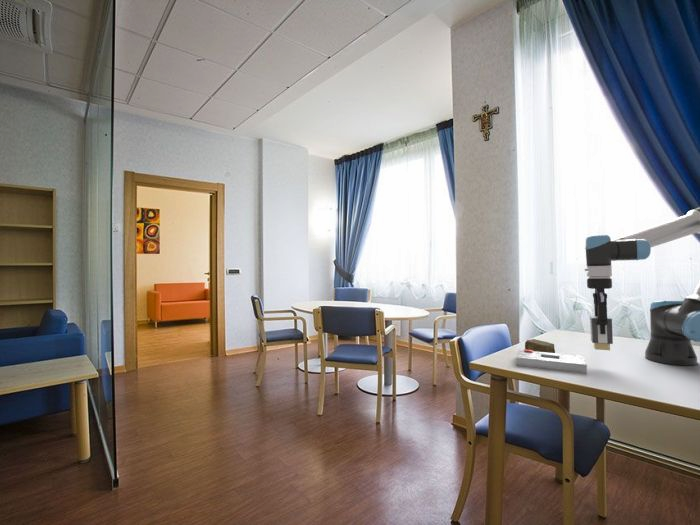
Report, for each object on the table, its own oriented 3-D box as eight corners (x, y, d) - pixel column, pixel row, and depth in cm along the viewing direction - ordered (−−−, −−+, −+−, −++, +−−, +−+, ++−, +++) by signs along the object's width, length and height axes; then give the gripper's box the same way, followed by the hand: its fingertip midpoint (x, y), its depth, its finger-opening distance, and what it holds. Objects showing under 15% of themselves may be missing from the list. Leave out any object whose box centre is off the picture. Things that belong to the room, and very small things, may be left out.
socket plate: (583, 363, 137) (583, 354, 137) (586, 373, 125) (586, 362, 125) (518, 357, 147) (518, 348, 147) (516, 365, 136) (516, 355, 136)
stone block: (534, 349, 160) (534, 338, 160) (556, 356, 149) (556, 343, 149) (523, 350, 158) (523, 339, 158) (545, 357, 147) (545, 345, 147)
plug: (610, 347, 133) (609, 316, 133) (613, 351, 129) (611, 318, 129) (591, 346, 136) (590, 316, 136) (592, 349, 132) (591, 318, 132)
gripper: (584, 276, 142) (586, 335, 142) (589, 279, 126) (592, 345, 126) (607, 276, 139) (610, 336, 139) (616, 278, 123) (618, 347, 123)
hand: (601, 341), depth 132 cm, fingers closed on plug, 5 cm apart
